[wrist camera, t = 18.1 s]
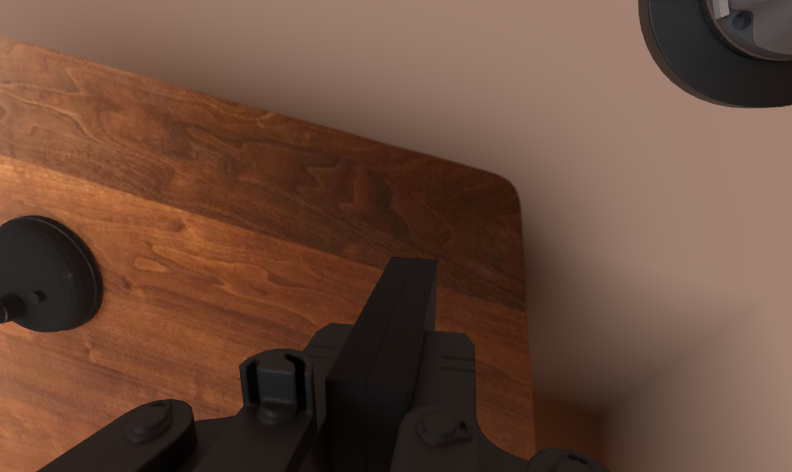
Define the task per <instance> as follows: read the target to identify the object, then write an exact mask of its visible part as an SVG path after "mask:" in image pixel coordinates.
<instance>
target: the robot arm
mask: <svg viewBox="0 0 792 472" xmlns="http://www.w3.org/2000/svg"><path fill="white" fill-rule="evenodd" d="M698 2H699V8H700V11H701V15H702V17H703V20H704V22H705V24H706V26H707V28H708V29H709V31H710V32H711V34H712V35H713V36H714V37H715V38H716V40H717V41H718V42H719V43H721V44H722V45H723V46H724V47H725V48H727V49H728V50H730V51H731V52H733V53H735V54H737V55H739V56H742V57H745V58H747V59H751V60H755V61H762V62H787V61H792V0H698ZM436 286H437V260H434V259H418V258H402V257H391V259H390V261H389V263H388V264H387V266H386V268H385V270H384V272H383V274H382V275H381V277H380V279H379V281H378V283H377V285H376V286H375V288H374V290H373V292H372V294H371V296H370V297H369V299H368V301H367V303H366V305H365V307H364V308H363V310H362V312H361V314H360V316H359V318H358V319H357V321H356V323H355V325H348V324H337V323H330V324H328V325H327V326H325V327H324V328H322V329H320V330H319V331H317V332H316V333H315V335H314V336H313V338H312V339H311V340H310V342H309V343H308V346H306V348H305V349H304V350H303V352H302V351H298V350H294V349H274V350H269V351H264V352H261V353H259V354H256V355H254V356H252V357H249V358H248V359H247V360H245V361H244V362H243V363H242V364H240V365H239V369H240V378H241V386H242V394H243V403H244V406H243V407H242V408H241V409H240V411H239V412H238V413H237V415H236V416H231V417H225V418H217V419H208V420H199V421H194V416H193V412H192V407H191V406H190V405H188V404H187V403H186V402H184V401H180V400H174V399H167V400H157V401H153V402H150V403H147V404H144V405H141V406H138V407H137V408H135V409H133V410H131V411H129V412H127V413H125V414H123V415H122V416H120V417H119V418H117V419H116V420H114V421H113V422H111V423H110V424H108V425H107V426H105V427H104V428H102V429H101V430H99V431H98V432H96V433H95V434H93V435H91V436H90V437H88V438H87V439H85V440H84V441H82V442H81V443H79V444H78V445H76V446H75V447H73V448H72V449H70V450H69V451H67V452H66V453H64V454H62V455H61V456H59V457H58V458H56V459H55V460H53V461H52V462H50V463H49V464H47V465H46V466H44V467H43V468H41V469H40V470H38V471H37V472H610V471H609V470H608V469H607V468H606V467H605V466H603V465H602V464H600V463H599V462H597V461H596V460H594V459H593V458H591V457H590V456H588V455H585V454H582V453H580V452H577V451H574V450H572V449H562V448H551V449H546V450H542V451H539V452H538V453H537V454H535V455H534V456H533V457H532V458H530V460H529V461H527V460H524V459H522V458H519V457H517V456H514V455H512V454H510V453H508V452H506V451H504V450H502V449H500V448H498V447H497V446H496V445H494V444H493V443H492V442H490V441H489V440H488V439H487V437H486V436H485V435H484V434H483V433H482V431H481V429H480V427H479V426H478V422H477V417H476V380H475V345H474V344H473V343H472V341H471V340H470V339H469V337H468V336H467V335H466V334H462V333H451V332H440V331H435V312H436Z"/></svg>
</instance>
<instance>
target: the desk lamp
mask: <svg viewBox="0 0 792 472" xmlns="http://www.w3.org/2000/svg"><path fill="white" fill-rule="evenodd" d="M102 294H103V286H102V279H101V274H100V271H99V268H98V265H97V263H96V261H95V259H94V257H93V255H92V254H91V252H90V251H89V249H88V248H87V246H86V245H85V244H84V243H83V242H82V240H81V239H80V238H79V237H78V236H77V235H76V234H75V233H73V232H72V231H71V230H69V229H68V228H67V227H65V226H64V225H62V224H60V223H58V222H57V221H54V220H52V219H49V218H46V217H41V216H24V217H19V218H15V219H12V220H10V221H8V222H6V223H4V224H3V225H2V226H1V227H0V323H6V322H9V321H14V322H15V323H17V324H19V325H21V326H22V327H25V328H27V329H30V330H33V331H38V332H57V331H62V330H70V329H74V328H76V327H78V326H81V325H82V324H84V323H86V322H88V321H89V320H90V319H92V318H93V316H94V315H95V314H96V313H97V311H98V309H99V307H100V304H101V301H102Z"/></svg>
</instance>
